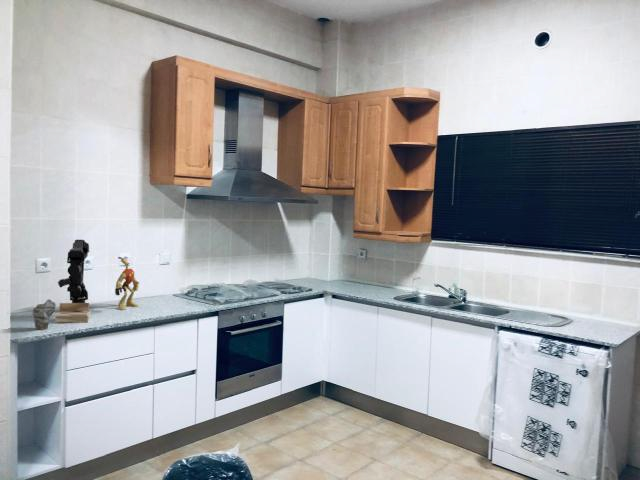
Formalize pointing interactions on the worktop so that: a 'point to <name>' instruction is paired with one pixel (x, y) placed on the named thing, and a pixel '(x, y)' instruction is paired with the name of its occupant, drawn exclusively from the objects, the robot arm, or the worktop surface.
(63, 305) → the flap
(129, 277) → the toy
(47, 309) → the rock
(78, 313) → the plywood box
